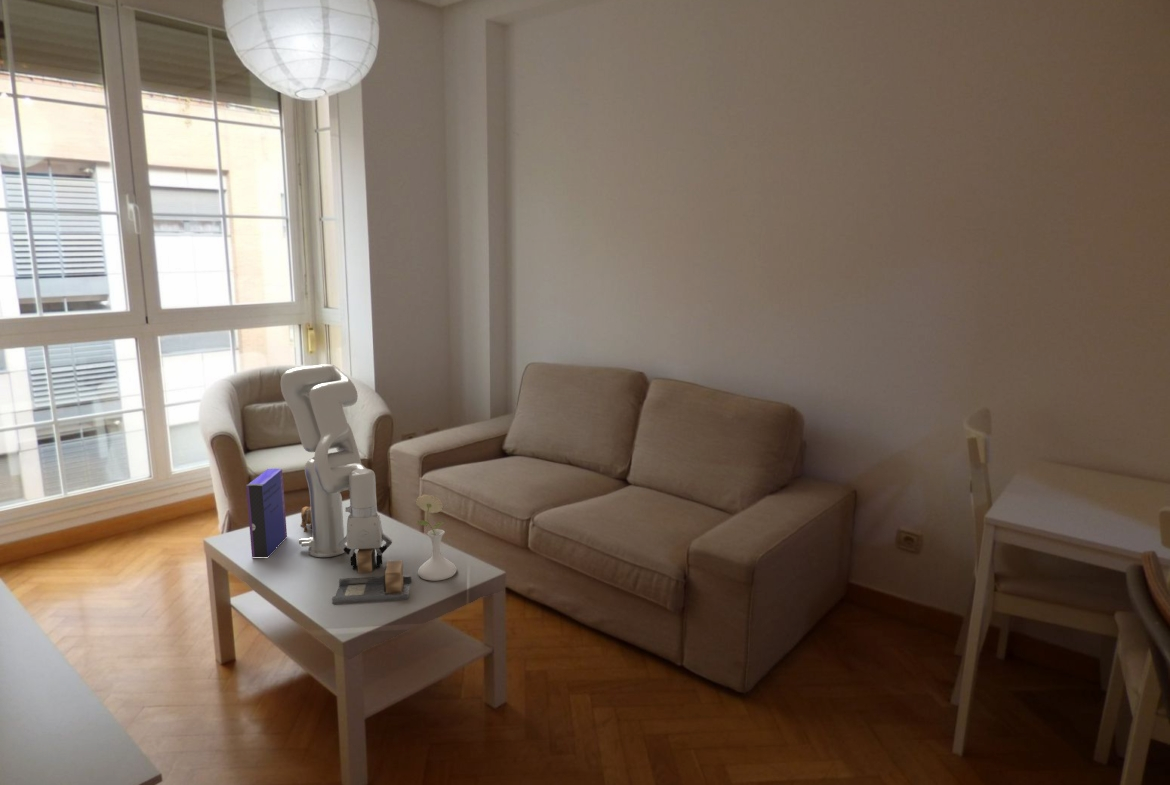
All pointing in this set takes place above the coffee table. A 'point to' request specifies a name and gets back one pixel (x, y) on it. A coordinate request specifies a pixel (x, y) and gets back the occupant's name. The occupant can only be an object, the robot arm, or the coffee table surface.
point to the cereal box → (266, 512)
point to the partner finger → (393, 577)
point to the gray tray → (368, 590)
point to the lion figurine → (306, 517)
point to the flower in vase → (434, 544)
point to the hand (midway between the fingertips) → (366, 566)
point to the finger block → (366, 560)
